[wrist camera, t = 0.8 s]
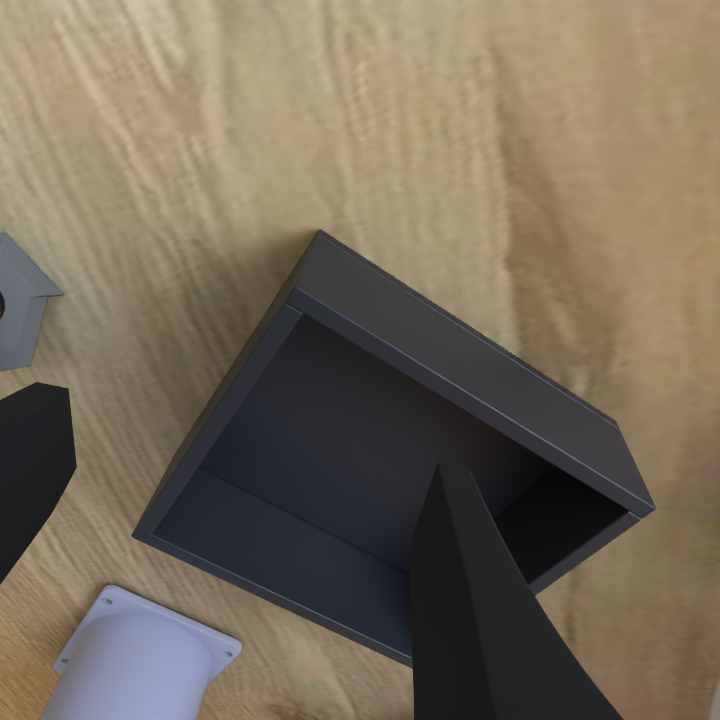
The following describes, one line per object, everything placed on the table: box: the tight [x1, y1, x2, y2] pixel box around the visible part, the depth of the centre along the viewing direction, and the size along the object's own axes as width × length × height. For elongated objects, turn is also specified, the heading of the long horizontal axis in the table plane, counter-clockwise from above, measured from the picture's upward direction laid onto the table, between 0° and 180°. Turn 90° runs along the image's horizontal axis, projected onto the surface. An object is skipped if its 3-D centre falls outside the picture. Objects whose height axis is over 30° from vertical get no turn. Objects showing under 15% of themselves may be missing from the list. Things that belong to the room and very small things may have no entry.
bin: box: [132, 230, 656, 669], centre depth 22 cm, size 12×13×4 cm
